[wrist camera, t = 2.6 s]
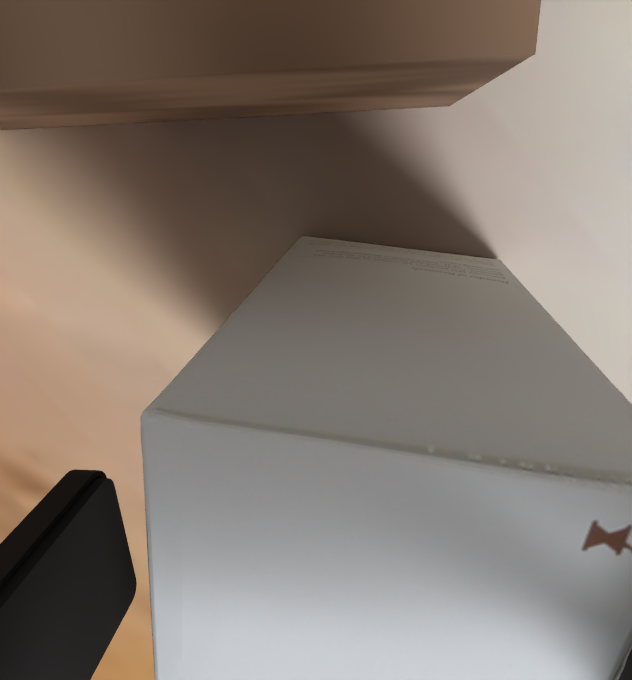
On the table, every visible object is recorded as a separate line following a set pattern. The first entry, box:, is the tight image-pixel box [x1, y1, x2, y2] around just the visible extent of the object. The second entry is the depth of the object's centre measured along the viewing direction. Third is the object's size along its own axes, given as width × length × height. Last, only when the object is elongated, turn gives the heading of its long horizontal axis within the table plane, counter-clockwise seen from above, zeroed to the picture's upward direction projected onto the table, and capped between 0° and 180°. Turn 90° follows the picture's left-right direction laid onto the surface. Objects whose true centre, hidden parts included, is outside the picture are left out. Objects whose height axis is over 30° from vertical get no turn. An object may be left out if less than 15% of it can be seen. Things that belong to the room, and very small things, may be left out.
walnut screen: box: [0, 0, 541, 130], centre depth 12 cm, size 16×2×10 cm, turn 92°
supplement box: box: [141, 236, 632, 680], centre depth 13 cm, size 7×7×13 cm
